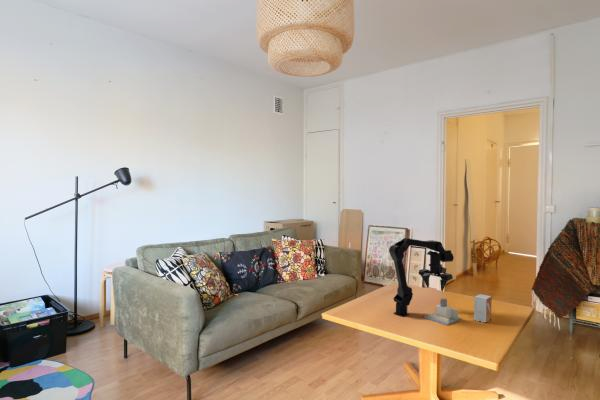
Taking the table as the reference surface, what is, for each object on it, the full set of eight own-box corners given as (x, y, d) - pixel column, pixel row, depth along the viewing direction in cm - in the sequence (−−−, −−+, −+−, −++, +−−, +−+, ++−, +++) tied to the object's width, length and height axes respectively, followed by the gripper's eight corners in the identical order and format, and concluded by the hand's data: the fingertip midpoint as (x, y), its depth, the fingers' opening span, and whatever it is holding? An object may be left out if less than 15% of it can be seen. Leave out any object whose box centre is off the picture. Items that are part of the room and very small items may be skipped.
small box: (486, 323, 188) (486, 299, 187) (473, 320, 192) (474, 296, 192) (491, 319, 193) (491, 296, 193) (479, 316, 198) (479, 293, 198)
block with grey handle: (446, 319, 191) (446, 301, 191) (435, 316, 196) (436, 298, 196) (451, 317, 194) (451, 299, 194) (441, 314, 199) (441, 296, 199)
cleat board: (447, 325, 184) (447, 314, 184) (423, 317, 196) (423, 308, 195) (461, 319, 193) (461, 309, 193) (438, 312, 204) (438, 303, 204)
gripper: (458, 263, 203) (457, 290, 204) (429, 258, 218) (429, 283, 219) (447, 265, 197) (446, 293, 197) (418, 260, 212) (417, 286, 212)
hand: (434, 289), depth 206 cm, fingers open, 9 cm apart
